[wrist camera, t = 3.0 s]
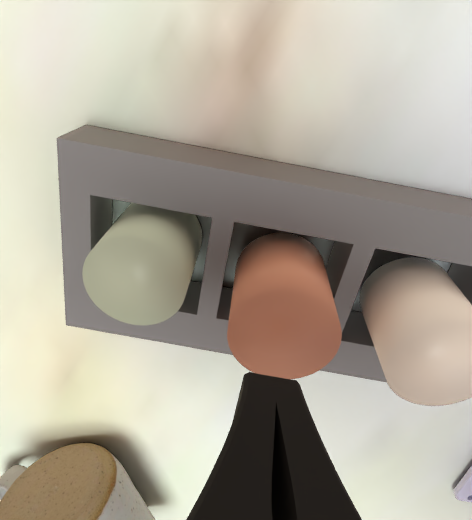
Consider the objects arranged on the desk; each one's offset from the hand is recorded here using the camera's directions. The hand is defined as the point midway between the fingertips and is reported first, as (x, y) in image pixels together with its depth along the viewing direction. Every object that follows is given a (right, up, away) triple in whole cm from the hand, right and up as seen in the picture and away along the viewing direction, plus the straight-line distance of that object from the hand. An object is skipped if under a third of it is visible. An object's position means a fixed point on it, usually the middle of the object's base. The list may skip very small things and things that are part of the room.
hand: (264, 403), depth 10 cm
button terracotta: (+1, +3, +6) cm, 7 cm away
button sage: (-4, +5, +7) cm, 9 cm away
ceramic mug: (-11, -11, +17) cm, 23 cm away
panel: (+1, +4, +7) cm, 8 cm away
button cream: (+6, +2, +6) cm, 9 cm away
